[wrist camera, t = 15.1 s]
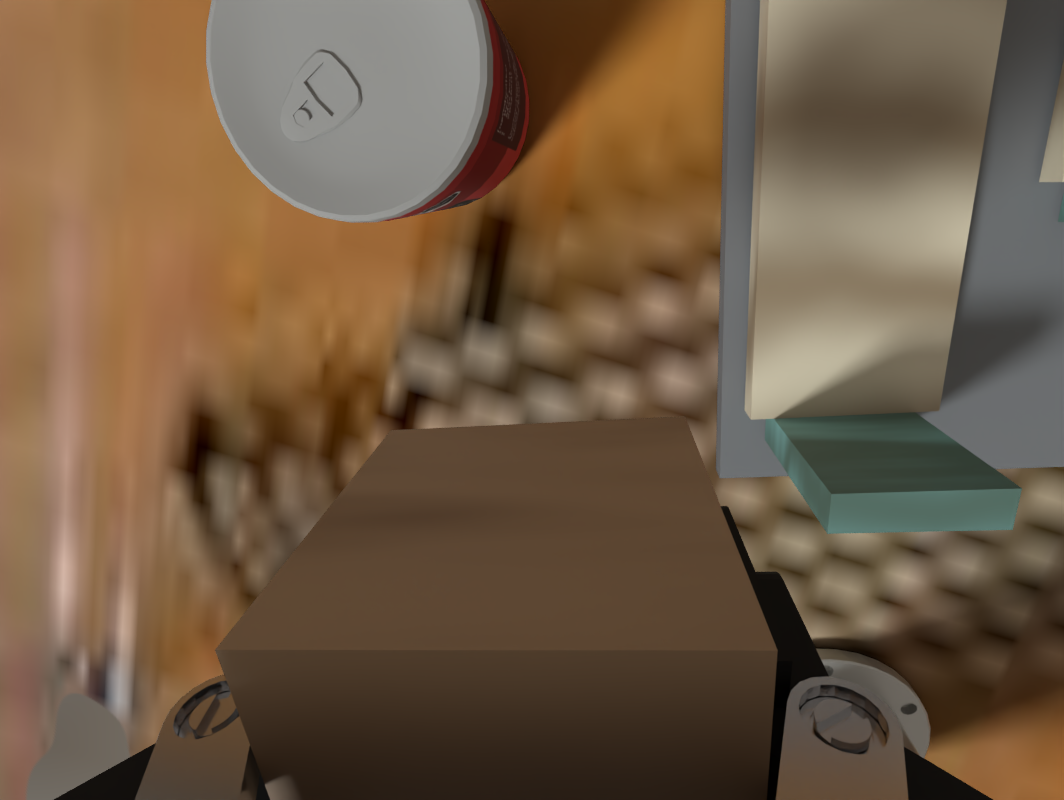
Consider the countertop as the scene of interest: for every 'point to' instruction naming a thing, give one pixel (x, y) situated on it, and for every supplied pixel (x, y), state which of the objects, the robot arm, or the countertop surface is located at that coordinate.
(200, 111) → the countertop surface
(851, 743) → the robot arm
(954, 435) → the mat
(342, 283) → the countertop surface
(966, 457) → the strip
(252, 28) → the canned food
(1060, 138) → the broken strip
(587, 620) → the cube
